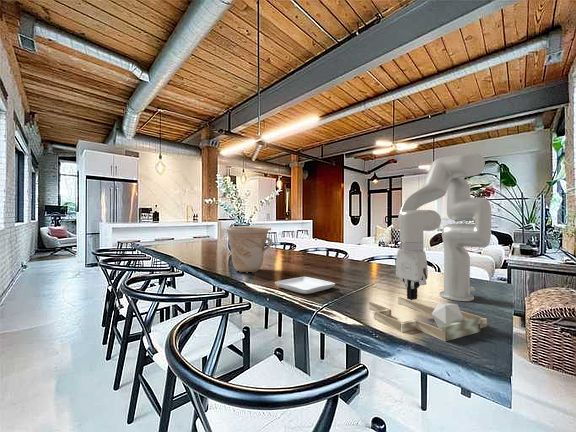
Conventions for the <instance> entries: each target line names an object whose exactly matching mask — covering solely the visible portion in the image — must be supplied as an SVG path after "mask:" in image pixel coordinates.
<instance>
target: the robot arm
mask: <svg viewBox="0 0 576 432" xmlns="http://www.w3.org/2000/svg"><path fill="white" fill-rule="evenodd" d="M485 165H486V162H485V159H484V157H483V155H482V154H480V153H478V152H477V153H466V154H465V153H464V154H456V155H450V156H449V155H448V156H444V157H439V158H436V159H434V160H433V161H432V162H431V165H430V167H429V169H428V171H427V175H426V176H425V180H424V182H423V185H422V186H421V187H420V188H418V189H417V190H415V191H414V192H413V193H411V194H410V195H408V197H407V198H406V199H405V200H404V202H403V204H402V206H401V208H400V211H399V212H398V217H397V222H398V226H399V242H398V246H399V249H398V251H397V253H396V259H395V260H396V261H395V262H396V263H395V275H396V277H398V279H399V280H400V281H402V282H403V283H404V286H405V288H406V299H407V300H411V301H413V300H414V301H415V300H417V299H418V289H419V288H420V287H421V286H425V285H427V280H428V274H429V271H428V262H427V255H426V252H425V250H424V231H425V232H432V231H436V230H438V229H439V228H440V226H441V223H442V218H441V215H440V214H439V213H438V212H437V211H436V210H431V209H419V208H420V207H422V206H424V205H426V204H429V203H432V202H434V201H435V202H436V201H437V200H439V199H442V198H443V197H445V195H446V194H447V195H446V197H447V198H446V215H447V217H448V218H449V219H450V220H452V221H461V222H462V221H463V222H464V221H469V222H470V221H471V222H473V221H474V222H475V223H449V224H445V226H443V228H442V229H441V237H442V243H443V254H444V255H443V257H444V260H443V290H442V291H440V292H439V296H440V297H441V298H444V299H447V300H451V301H457V302H472V301H474V300H475V297H474V295H472V294H471V292H475V291H476V290H475V289H476V288H475V287H474V286H470V285H471V284H470V283H471V282H470V281H471V269H470V268H471V257H470V254H469V253H468V252H469V251H467V250H466V248H465V247H467V248H479V249H480V248H486V247H488V246H489V245H490V242H491V240H492V239H491V238H492V237H491V235H492V206H491V203H490V201H489V200H488V199H487V198H485V197H471V186H470V184H469V182H468V181H467V180H466V179H465V177H474V176H478V175H480V174H481V173H483V171H484V170H485Z"/></svg>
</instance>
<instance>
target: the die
mask: <svg viewBox="0 0 576 432" xmlns="http://www.w3.org/2000/svg"><path fill="white" fill-rule="evenodd" d="M461 311H462V310H461V309H460V307H459V305H458V303H452V302H451V303H450V302H440V301H439V302H438V303H437V304H436V306H435V309H434V311H433V312H432V317H433V320H434V322H435V324H436V325H437V326H436V327H437V328H439V329H442V326H443V325H447V324H451V323H455V322H460V321H464V320H465V319H464V317H463V315H462V313H461Z"/></svg>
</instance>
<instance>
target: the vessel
mask: <svg viewBox="0 0 576 432" xmlns="http://www.w3.org/2000/svg"><path fill="white" fill-rule="evenodd" d="M224 230H225V231H226V233H227V237H228V240H229V243H228V245H229V248H230V254H231V262H232V265H233V266H232V267H233V268H234V270H237V272H238V271H239V272H238V273H241V272H246V273H245V274H248V272H252V273H256V272H258V271H259V269H260V268H261V267H262V265H263V263H264V262H263V261H264V254H265V252H266V251H267V250H268V249H269V248H271V247H272V245H273V239H272V238H270V237H268V232H269V231H271V230H272V227H270V226H266V225H265V226H262V225H236V226H235V225H234V226H224ZM266 241H267V242H268V244H267V245H266ZM265 245H266V246H265Z"/></svg>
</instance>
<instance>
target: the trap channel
mask: <svg viewBox="0 0 576 432" xmlns="http://www.w3.org/2000/svg"><path fill="white" fill-rule="evenodd" d="M397 298H398V299H397V304H398V305H401V306H402V307H403V306H404V307H406V308H409V309H411V310H413V311H414V310H415V311H418V312H421V313H422V314H425V315H430V316H432V312H433V311H434V309H435V308H436V307H435V308H434V307H431V306H428V305H425V304H421V303H419V302H418V301H415V300H414V301H413V300H410V299H407V298H405V297H401V296H398V297H397ZM370 309H371V311H373V320H374V319H375V321H376V320H377V322H379V323H381V324H383V325H386V326H387V327H388V328H392V329H394V330H396V331H398V332H400V333H406V332H409V331H414V330H418V331H420V332H422V333H425V334H427V335H429V336H431V337H434V338H436V339H438V340H440V341H444V342H448V341H453V340H455V339H460V338H462V337H466V336H470V335H473V334H477V333H480V332H481V329H483V328H487V325H488V319H487V318H486V317H482V316H479V315H476V314H472V313H469V312H466V311H463V310H460V311H461V313H462V315H463V317H464V319H465V320H464V321H460V322H455V323H451V324H447V325H443V326H442V329H439V328H438V326H433V325H432V324H430V323H429V324H428V323H426V322H425V321H421V320H419V319H410V320H407V321H401V320H398V319H395V318H393V317H392V309H390V308H387V307H385V306H383V305H380V304H378V303H375V302H372V301H368V310H370ZM432 317H433V316H432Z"/></svg>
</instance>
